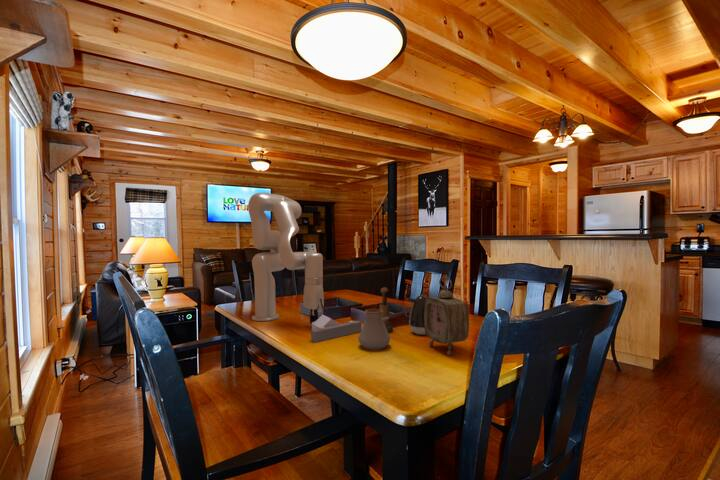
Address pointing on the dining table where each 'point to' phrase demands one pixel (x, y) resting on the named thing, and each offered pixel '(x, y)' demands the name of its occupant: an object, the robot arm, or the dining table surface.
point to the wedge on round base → (323, 322)
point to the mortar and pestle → (385, 310)
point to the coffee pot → (375, 330)
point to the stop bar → (335, 331)
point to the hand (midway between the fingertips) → (314, 324)
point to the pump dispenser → (417, 315)
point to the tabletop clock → (446, 318)
